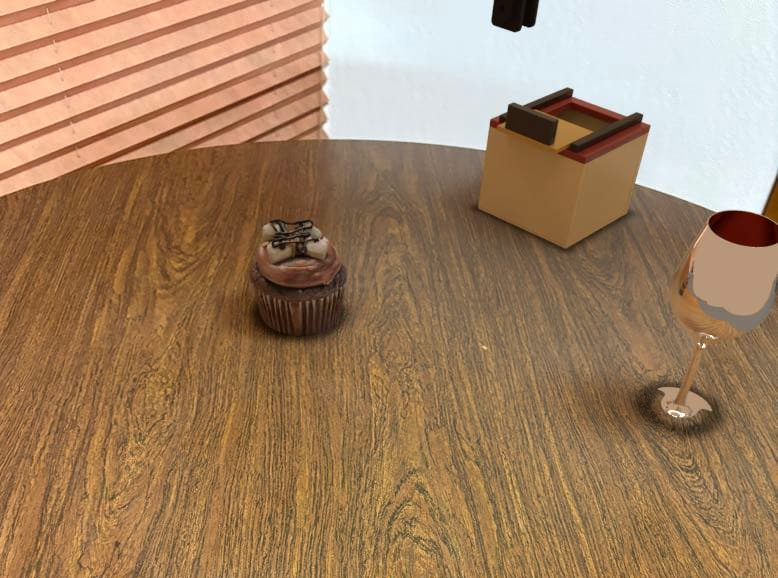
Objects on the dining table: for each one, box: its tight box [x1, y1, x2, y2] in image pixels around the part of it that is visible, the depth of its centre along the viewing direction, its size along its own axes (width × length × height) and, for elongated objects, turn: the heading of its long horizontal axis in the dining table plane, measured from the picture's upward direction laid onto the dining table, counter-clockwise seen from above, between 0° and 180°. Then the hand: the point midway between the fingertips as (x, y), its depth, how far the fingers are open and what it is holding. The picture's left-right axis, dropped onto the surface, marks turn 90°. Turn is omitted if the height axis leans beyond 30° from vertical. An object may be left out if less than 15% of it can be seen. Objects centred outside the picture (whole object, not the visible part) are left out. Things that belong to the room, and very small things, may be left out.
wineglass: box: [658, 209, 778, 419], centre depth 72 cm, size 8×8×18 cm
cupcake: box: [248, 217, 349, 337], centre depth 83 cm, size 10×10×10 cm
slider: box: [497, 102, 593, 154], centre depth 93 cm, size 7×8×3 cm
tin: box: [477, 87, 651, 250], centre depth 100 cm, size 13×13×12 cm
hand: (512, 24), depth 81 cm, fingers closed
